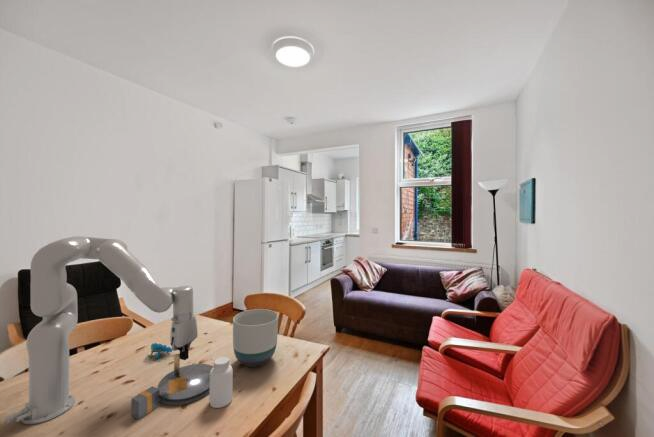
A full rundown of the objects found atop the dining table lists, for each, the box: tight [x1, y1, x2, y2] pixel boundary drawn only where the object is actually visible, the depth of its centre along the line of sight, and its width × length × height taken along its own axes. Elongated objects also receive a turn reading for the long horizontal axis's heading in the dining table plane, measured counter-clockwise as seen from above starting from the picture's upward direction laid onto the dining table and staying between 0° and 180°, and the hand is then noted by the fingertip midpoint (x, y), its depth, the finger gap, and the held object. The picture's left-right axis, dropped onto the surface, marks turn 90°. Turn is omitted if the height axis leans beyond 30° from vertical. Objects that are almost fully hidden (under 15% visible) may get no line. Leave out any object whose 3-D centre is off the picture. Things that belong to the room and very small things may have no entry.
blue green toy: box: [148, 343, 173, 360], centre depth 125 cm, size 11×6×10 cm
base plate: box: [159, 389, 210, 407], centre depth 104 cm, size 22×22×1 cm
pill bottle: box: [208, 356, 234, 409], centre depth 96 cm, size 8×8×15 cm
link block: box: [130, 386, 160, 421], centre depth 91 cm, size 7×4×6 cm, turn 157°
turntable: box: [157, 353, 214, 401], centre depth 104 cm, size 21×21×9 cm
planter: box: [232, 308, 279, 368], centre depth 122 cm, size 20×20×21 cm
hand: (184, 358), depth 111 cm, fingers closed
